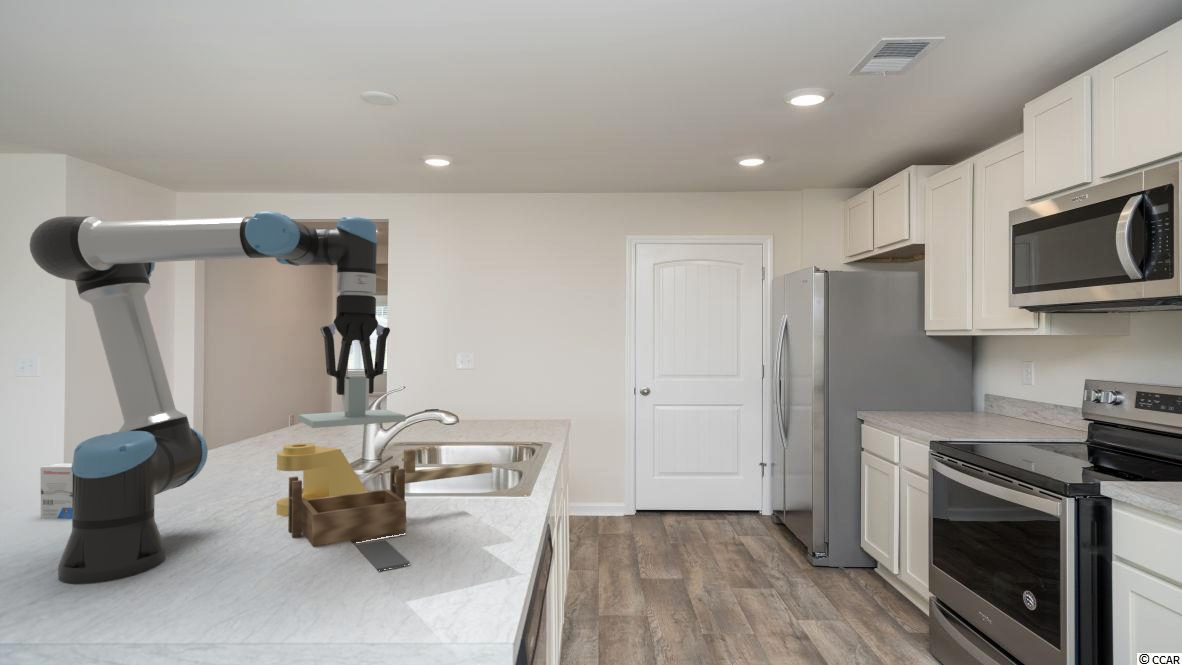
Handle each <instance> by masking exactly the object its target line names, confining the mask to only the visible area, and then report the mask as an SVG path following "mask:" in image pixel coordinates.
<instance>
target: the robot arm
mask: <svg viewBox="0 0 1182 665" xmlns="http://www.w3.org/2000/svg"><path fill="white" fill-rule="evenodd" d="M377 238H378V237H377V226H376V223H375V221H373V220H371V219H369V218H366V217H359V216H358V217H357V216H346V217H340V218H338V220H337V225H336V227H331V228H329V227H328V228H327V227H325V228H324V227H309V226H307V225H305V224H303V223H301V222H299V221H296V220H294V219H292V218H290V217H289V216H287V215H285V214H283V213H280V212H275V211H268V210H267V211H266V210H265V211H260V212H257V213H256V214H254V215H252V216H230V217H229V216H227V217H225V216H224V217H223V216H222V217H198V218H196V217H195V218H173V219H172V218H169V219H167V218H166V219H145V220H144V219H142V220H140V219H139V220H120V221H119V220H117V221H116V220H115V221H114V220H113V221H107V220H106V219H105V218H103V217H101V216H97V215H96V216H95V215H94V216H92V215H87V216H72V215H71V216H69V215H68V216H67V215H66V216H63V215H62V216H57V217H56V216H55V217H53V218H49V219H47V220H46V221H43V222H42V223H40V224H39V225H38V226H37V227H36V228H35V229H34V231H33V232H32V233H31V236H30V240H29V250H30V251H29V252H30V254H31V257H32V258H33V260H34V262H35V263H36V264H37V266H39V267H40V269H42V270H43V271H44V272H46V273H48V274H49V275H52V276H54V277H56V278H59V279H63V280H67V281H68V280H69V281H73V282H74V283H75V285H76V289H77V293H78V296H79V298H80V299H81V300H82V301H85V302H87V303H89V304H90V306H91V307H92V311H93V313H94V318H95V322H96V325H97V329H98V331H99V335H100V339H101V341H102V346H103V350H104V352H105V356H106V361H107V365H108V368H109V371H110V374H111V378H112V381H113V382H112V383H113V385H114V389H115V393H116V396H117V399H118V404H119V408H120V410H121V414H122V418H123V421H124V422H123V425H122V426H121V427H120V429H119V430H118V431H116V432H112V433H109V434H107V433H104V434H100V435H96V436H94V437H90V438H87V439H85V440H84V441H81V442H80V443H79V444H77V445H76V447H75V449H74V451H73V458H72V460H73V461H72V463H71V464H72V467H71V469H72V473H73V492H72V520H71V522H72V523H71V532H70V535H69V536H68V540H67V543H66V545H65V548H64V550H63V553H62V555H61V558H60V560H59V562H58V566H57V568H58V570H57V573H58V574H57V579H58V580H59V582H62V583H64V584H65V583H66V584H71V585H89V584H90V585H92V584H100V583H107V582H112V581H118V580H121V579H126V578H129V577H132V576H133V577H134V576H137V575H140V574H142V573H145V572H148V571H149V570H153V569H154V568H157V567H158V566H160V565H161V564H163V563H164V562H165V560H166V546H165V543H164V540H163V538H162V535H161V533H160V530H159V528H158V525H157V522H156V519H155V504H156V503H155V498H156V495H160V494H161V493H164V492H166V491H169V490H172V489H176V488H178V487H181V486H183V485H185V484H187V483H189V481H191V480H193V479H195V477H197V476H198V475H199V474H200V473H201V471H203V469H204V466H205V465H206V462H207V459H208V452H209V451H208V445H207V442H206V440H205V437H204V436H203V435H202V434H201V432H199V431H196V430H195V429H194V428H193V427H191V426H190V422H189V419H188V415H187V414H185V413H182V412H181V411H179V410H177V408H176V406H175V401H174V398H173V395H172V392H171V388H170V387H171V386H170V385H169V381H168V378H167V377H168V376H167V374H166V370H165V367H164V363H163V359H162V356H161V352H160V349H159V346H158V342H157V339H156V338H157V336H156V335H155V331H154V327H153V323H152V319H151V316H150V312H149V308H148V306H147V302H146V298H145V296H146V295H147V293H148V292H149V291H150V289H151V288H152V286H151V283H150V278H151V277H152V272H154V270H155V267H156V263H166V262H167V263H168V262H170V263H171V262H186V261H187V262H188V261H189V262H192V261H212V260H233V259H267V258H275V260H276V262H278V263H279V264H281V265H290V266H295V267H297V266H336V268H337V269H336V292H337V293H338V295H337V296H336V314H335V315H336V316H335V319H334V320H333V322H332V323H330V324H328V325H326V326H325V325H323V326H321V327H320V328H319V329H320V332H321V334H322V336H323V340H324V353H325V367H326V368H325V369H326V374H327V375H328V376H331V377H334V378H335V379H336V386H335V387H336V389H335V390H336V394H337V395H338V396H341V401H340V402H341V403H340V404H341V405H340V406H341V407H340V408H341V411H340V412H349V379H346V378H345V376H346V375H347V369H348V364H349V363H348V362H349V359H350V358H349V357H350V352H351V347H352V345H353V341H357V342H358V343H359V346H360V350H361V356H362V357H361V358H362V363H363V370H364V375H365V376H364V377H366V405H365V411H369V410H370V409H369V408H370V406H369V405H370V401H369V400H370V394H374V392H375V391H374V389H375V387H374V386H375V384H374V383H375V382H374V381H375V377H378V376H380V375H381V376H382V375H383V374H384V371H385V370H384V368H385V360H386V359H385V357H386V350H387V349H386V347H387V338H388V336H389V335H390V332H391V329H390V327H388V326H387V327H385V326H383V325H380V324H379V321H378V320H377V317H376V316H377V315H376V314H377V298H376V297H375V296H374V295H375V294H376V293H377V254H378V253H377V249H378V240H377ZM336 330H337V332H338V333H339V335H340V336H341V342H340V343H341V344H340V350H339V357H338V363H337V364H336V352H335V351H336V349H335V339H334V335H335V334H336ZM374 332H375V334H376V345H375V358H374V362H373V356H372V349H371V348H372V347H371V336H372V335H373V333H374ZM336 365H337V367H336Z"/></svg>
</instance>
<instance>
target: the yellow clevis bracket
mask: <svg viewBox="0 0 1182 665" xmlns="http://www.w3.org/2000/svg"><path fill="white" fill-rule="evenodd" d="M276 470H277V471H280V472H281V471H283V472H300V471H302V472H303V473H302V474H303V475H302V478H303V479H302V500H307V499H315V498H322V497H330V496H338V495H345V494H353V493H361V492H366V487H365V486H364V484H363V483H362V481H361V479H360V478H359V476H358V475H357V473H356V472H355V470H354V468H353V466H351V463H350V462H349V461H348V459H347V457H346V456H345V454H344V452H343V451H342V449H341V448H333V447H328V446H327V447H325V446H321V445H320V446H319V445H316V444H315V443H308V442H307V443H306V442H305V443H291V444H286V445H283V446H282V451H279V452H277V453H276ZM275 512H276V516H281V517H288V515H289V496H287V497H283V498H280V499H278V500H277V501H276V511H275Z"/></svg>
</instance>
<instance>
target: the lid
mask: <svg viewBox="0 0 1182 665" xmlns="http://www.w3.org/2000/svg"><path fill="white" fill-rule="evenodd" d="M345 378H346V379H349V412H344V411H337V412H336V411H335V412H320V413H319V412H318V413H303V414H298V421H299V422H301V423H303V424H304V425H306V426H308V427H310V428H312V429H317V428H318V429H319V428H330V427H332V428H333V427H334V428H335V427H347V426H360V425H361V426H362V425H372V424H388V423H389V424H390V423H403V422H406V418H407V416H406V415H405V414H401V413H399V412H396V411H392V410H389V409H385V408H384V409H369V411H365V405H366V376H363V375H353V376H351V375H347V376H345Z"/></svg>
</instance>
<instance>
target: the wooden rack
mask: <svg viewBox="0 0 1182 665" xmlns="http://www.w3.org/2000/svg"><path fill="white" fill-rule="evenodd" d="M389 469H390V470H389V474H390V475H389V480H390V481H389V489H388V488H385V489H377V490H370V491H369V490H368V491H365V492H361V493H353V494H345V495H338V496H330V497H322V498H315V499H307V500H302V494H303V480H301V479H300V480H299V476H298V475H297V476H290V477H288V497H289V515H288V516H287V517H288V519H287V520H288V525H287V527H288V528H287V530H288V533H291V538H292V539H295V538H302V534H303V536H305V538H306V539H307V541H308V542H309V543H310V545H311V546H312V548H317V547H320V546H321V547H322V546H326V545H331V544H337V543H343V542H347V541H350V542H351V544H353V543H356V542H362V541H366V540H371V539H377V538H381V537H386V536H392V535H393V536H394V535H399V534H404V533H406V534H407V501H406V498H405V497H406V496H405V495H406V492H405V490H406V483H405V469H404V468H400V465H398V464H396V465H390V467H389ZM395 473H396V483H395Z"/></svg>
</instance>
